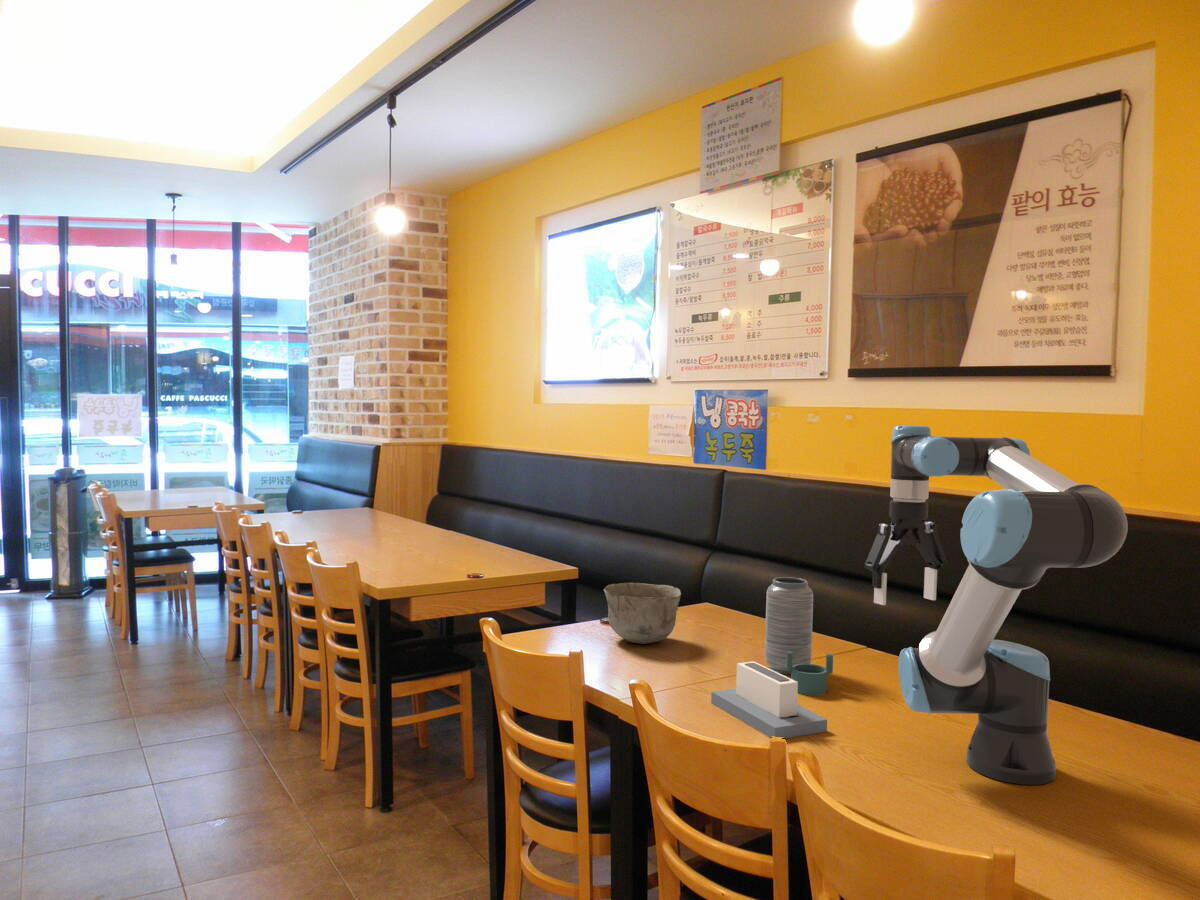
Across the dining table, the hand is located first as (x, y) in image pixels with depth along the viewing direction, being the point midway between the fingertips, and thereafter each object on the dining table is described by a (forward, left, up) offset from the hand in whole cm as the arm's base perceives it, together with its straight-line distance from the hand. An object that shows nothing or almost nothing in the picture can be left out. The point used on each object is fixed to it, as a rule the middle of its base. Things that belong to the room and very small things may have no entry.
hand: (905, 601), depth 183 cm
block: (+17, +23, -26) cm, 38 cm away
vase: (+43, -3, -27) cm, 51 cm away
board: (+16, +23, -27) cm, 38 cm away
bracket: (+28, +2, -27) cm, 39 cm away
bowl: (+80, +20, -27) cm, 87 cm away
